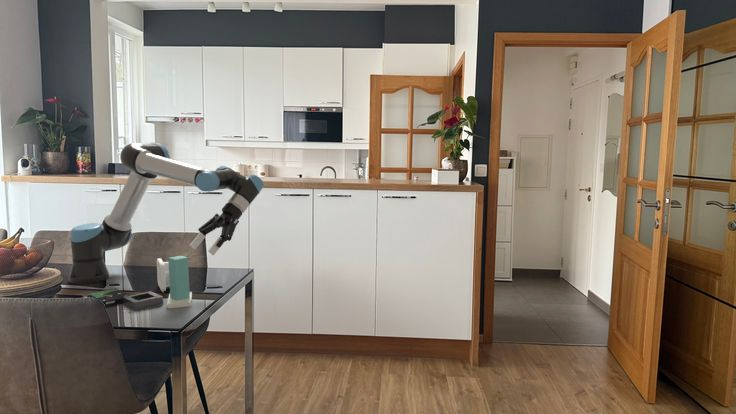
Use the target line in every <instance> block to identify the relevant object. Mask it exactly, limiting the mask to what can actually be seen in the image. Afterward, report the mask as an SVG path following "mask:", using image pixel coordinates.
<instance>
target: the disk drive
mask: <svg viewBox="0 0 736 414" xmlns="http://www.w3.org/2000/svg"><path fill="white" fill-rule="evenodd" d="M130 295H131V294H129V293H126V292H124V291H122V290H120V289H118V288H110V289H105V290H101V291H95V292H92V293H89V294H87V298H88V297H96V298H100V300H101V301H102V302H103V303H104V304H105V306H106V307H105V308H108V307H113V306H117V305H121V304H122V305H123V297H125V296H130Z"/></svg>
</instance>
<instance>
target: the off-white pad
mask: <svg viewBox="0 0 736 414" xmlns="http://www.w3.org/2000/svg"><path fill="white" fill-rule="evenodd" d="M189 292H190V298H186V299H182V300H174V299H172V298H170V293H169V294H168V298H167V302H166V309H175V308H176V309H177V308H186V307H187V308H188V307H192V300H193V292H192V291H189Z"/></svg>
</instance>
